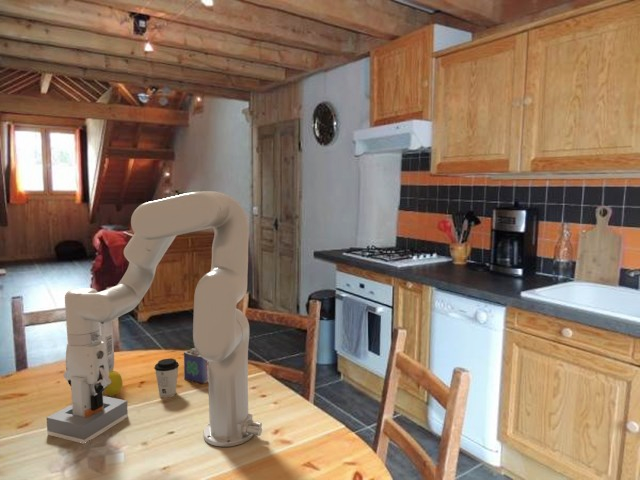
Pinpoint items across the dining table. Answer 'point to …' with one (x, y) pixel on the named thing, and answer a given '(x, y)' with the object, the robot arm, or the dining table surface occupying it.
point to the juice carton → (108, 342)
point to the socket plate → (86, 421)
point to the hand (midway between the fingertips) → (88, 405)
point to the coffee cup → (167, 377)
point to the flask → (195, 367)
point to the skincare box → (82, 398)
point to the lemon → (113, 384)
